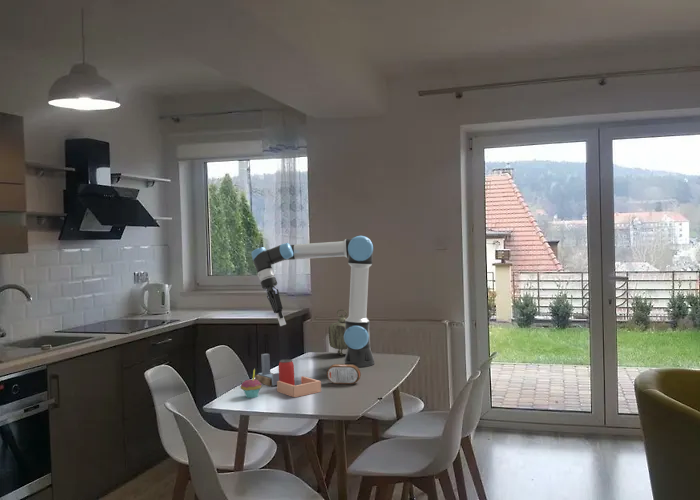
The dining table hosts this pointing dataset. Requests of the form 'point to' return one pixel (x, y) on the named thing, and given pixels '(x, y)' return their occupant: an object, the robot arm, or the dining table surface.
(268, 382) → the launcher rail
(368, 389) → the dining table surface
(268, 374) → the grey post stand
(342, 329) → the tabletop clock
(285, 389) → the cup corral
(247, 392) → the cupcake
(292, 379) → the beer can
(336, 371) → the tin
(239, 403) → the dining table surface
